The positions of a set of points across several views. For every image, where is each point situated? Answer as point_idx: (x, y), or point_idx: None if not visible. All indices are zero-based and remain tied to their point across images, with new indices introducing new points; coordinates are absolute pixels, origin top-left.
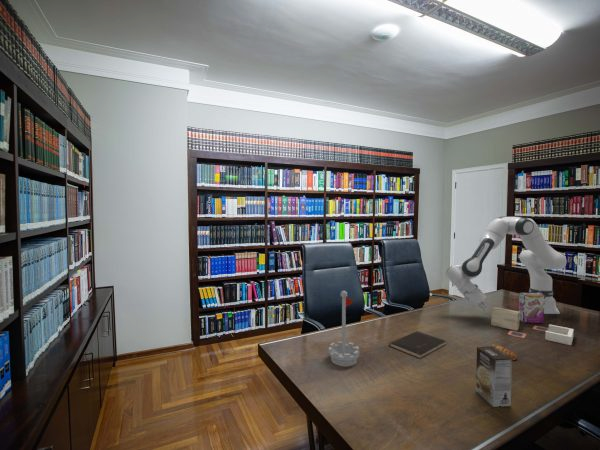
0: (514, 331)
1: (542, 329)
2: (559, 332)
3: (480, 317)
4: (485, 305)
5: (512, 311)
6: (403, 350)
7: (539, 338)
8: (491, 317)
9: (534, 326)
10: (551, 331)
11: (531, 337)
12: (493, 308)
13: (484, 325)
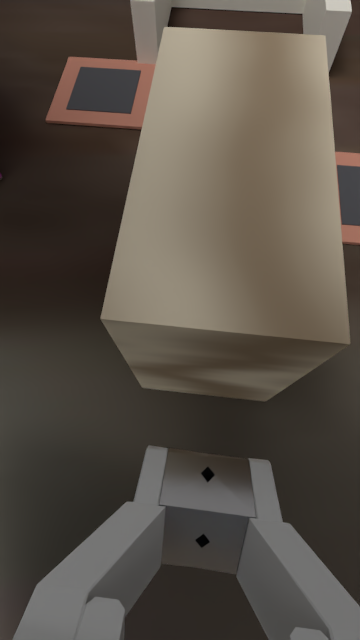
0: None
1: (123, 85)
2: (165, 14)
3: (29, 567)
4: (156, 517)
5: (222, 80)
6: None
7: (332, 99)
8: (291, 383)
9: (77, 120)
10: (159, 45)
11: (354, 130)
12: (251, 317)
13: (348, 466)
